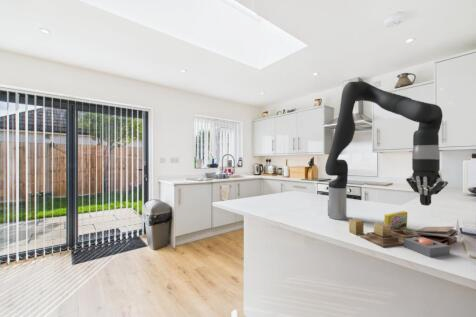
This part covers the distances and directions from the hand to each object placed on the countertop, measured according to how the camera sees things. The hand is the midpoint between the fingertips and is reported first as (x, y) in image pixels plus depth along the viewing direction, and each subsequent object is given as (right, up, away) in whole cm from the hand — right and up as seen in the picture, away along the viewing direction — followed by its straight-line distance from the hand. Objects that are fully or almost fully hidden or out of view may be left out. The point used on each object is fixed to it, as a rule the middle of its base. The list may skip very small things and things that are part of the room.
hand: (425, 205), depth 78 cm
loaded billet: (-10, -17, +9) cm, 21 cm away
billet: (-15, -17, +18) cm, 29 cm away
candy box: (+5, -17, +22) cm, 28 cm away
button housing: (0, -17, 0) cm, 17 cm away
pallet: (-4, -17, +10) cm, 20 cm away
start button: (0, -16, 0) cm, 16 cm away
